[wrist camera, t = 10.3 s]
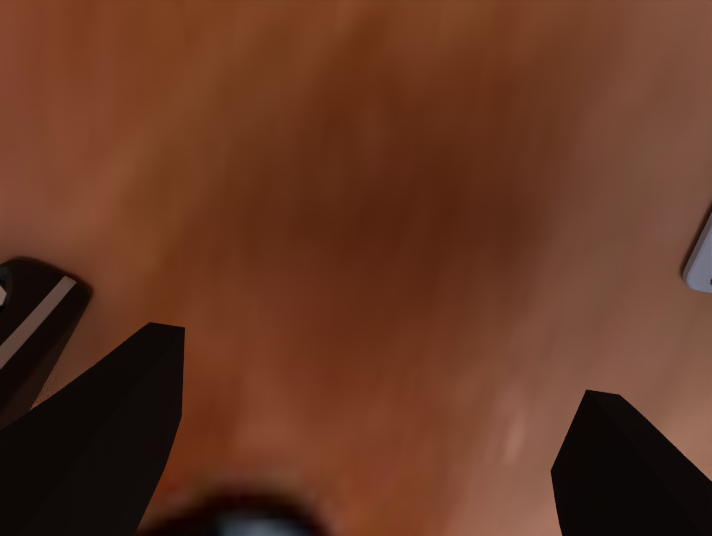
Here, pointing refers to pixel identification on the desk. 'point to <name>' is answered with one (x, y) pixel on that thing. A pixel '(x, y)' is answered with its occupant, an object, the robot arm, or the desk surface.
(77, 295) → the battery charger
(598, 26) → the desk surface
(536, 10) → the desk surface
